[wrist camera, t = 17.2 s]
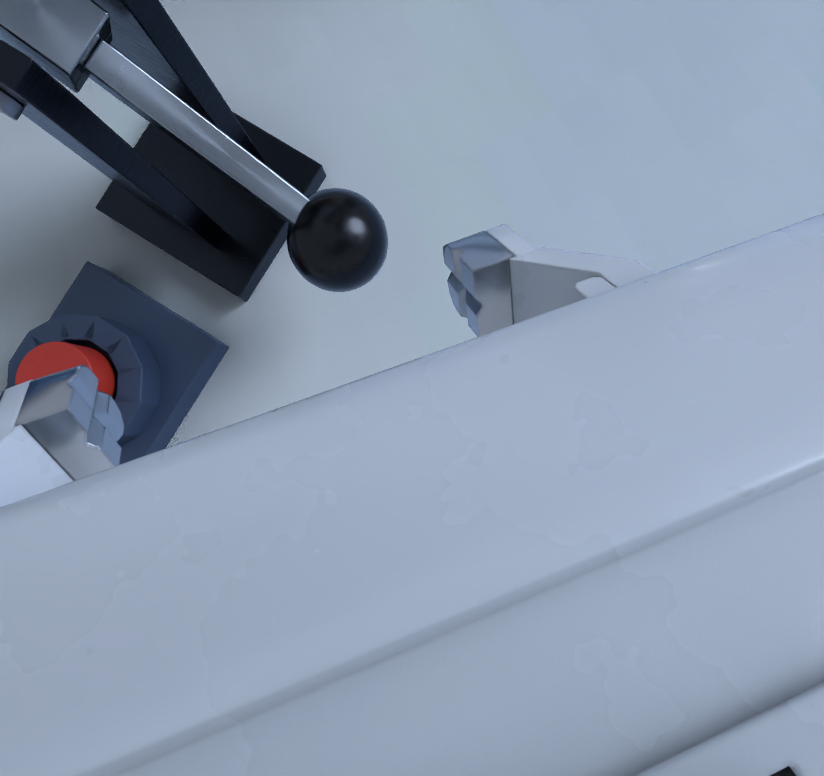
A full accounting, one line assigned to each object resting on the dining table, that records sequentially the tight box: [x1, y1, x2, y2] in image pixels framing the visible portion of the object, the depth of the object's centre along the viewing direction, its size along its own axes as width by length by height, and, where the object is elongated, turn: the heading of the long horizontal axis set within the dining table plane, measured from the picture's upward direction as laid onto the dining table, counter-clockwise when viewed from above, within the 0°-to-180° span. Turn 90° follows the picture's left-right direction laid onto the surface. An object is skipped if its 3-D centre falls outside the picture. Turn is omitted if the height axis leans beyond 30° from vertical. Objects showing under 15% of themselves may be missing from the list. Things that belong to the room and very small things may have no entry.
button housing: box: [0, 262, 229, 465], centre depth 27 cm, size 10×8×4 cm
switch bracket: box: [0, 0, 326, 301], centre depth 22 cm, size 9×8×15 cm
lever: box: [0, 0, 388, 292], centre depth 19 cm, size 14×4×4 cm
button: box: [15, 341, 115, 397], centre depth 25 cm, size 4×4×2 cm
